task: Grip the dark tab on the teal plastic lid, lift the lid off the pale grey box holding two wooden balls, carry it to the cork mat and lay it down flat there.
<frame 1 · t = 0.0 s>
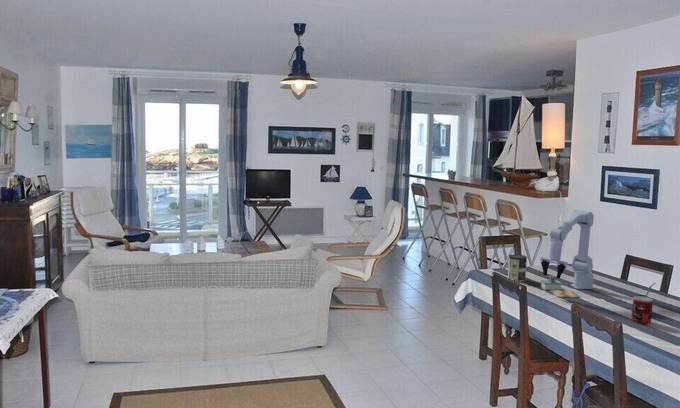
hand: (551, 276, 298), 11 cm above the table, tool pointing down, fingers open, 7 cm apart
canned food: (640, 322, 261), on the table
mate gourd: (641, 312, 275), on the table
coffee can: (516, 279, 334), on the table
box: (551, 288, 315), on the table
lid: (551, 283, 315), point 3 cm above the table, touching box
ball b: (547, 285, 315), point 2 cm above the table, touching box
mat: (564, 294, 303), on the table
ball a: (554, 285, 315), point 2 cm above the table, touching box
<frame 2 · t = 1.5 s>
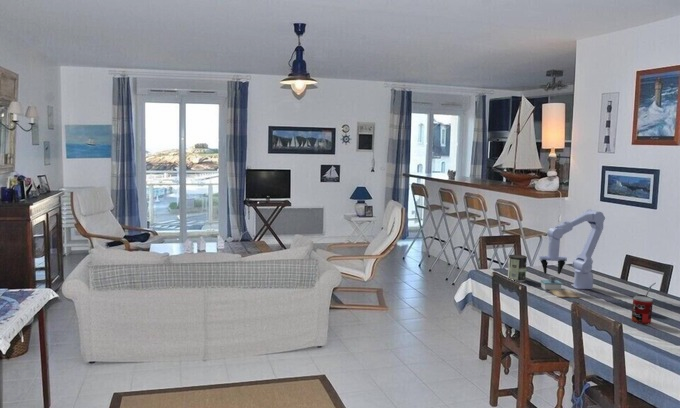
hand: (551, 273, 314), 9 cm above the table, tool pointing down, fingers open, 7 cm apart
nothing on the table moved.
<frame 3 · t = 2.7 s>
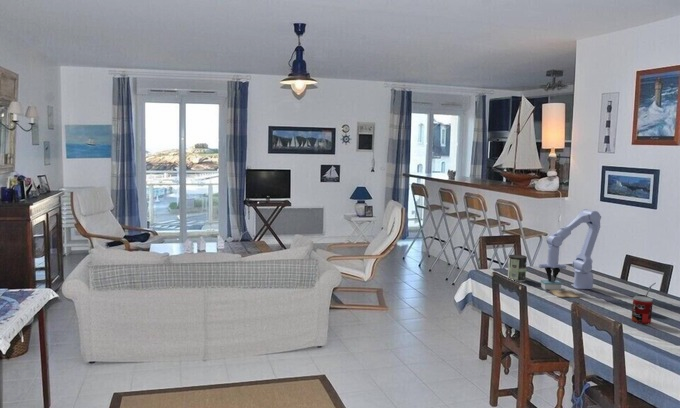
hand: (551, 280, 315), 4 cm above the table, tool pointing down, fingers closed on lid, 2 cm apart
lid: (551, 283, 315), point 3 cm above the table, touching box, gripper
everything else where it was.
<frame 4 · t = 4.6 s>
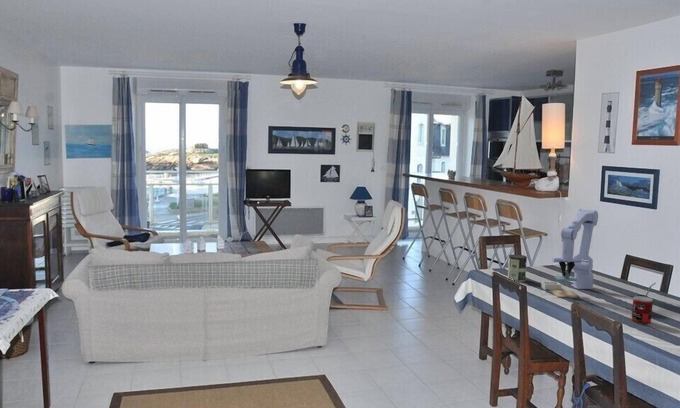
hand: (565, 275, 302), 10 cm above the table, tool pointing down, fingers closed on lid
lid: (565, 279, 303), point 8 cm above the table, touching gripper
everything else where it was.
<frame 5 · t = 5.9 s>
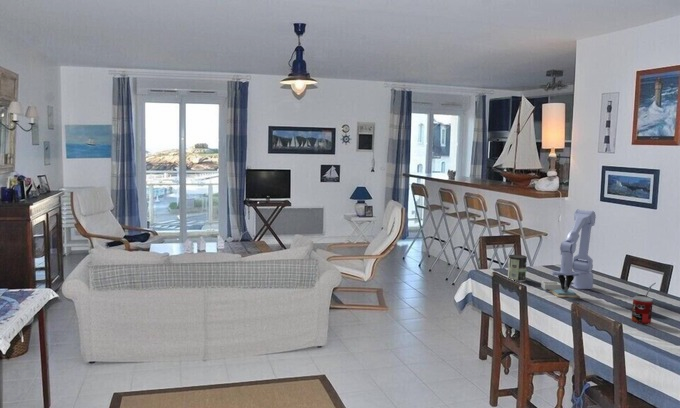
hand: (564, 288, 303), 3 cm above the table, tool pointing down, fingers closed on lid, 2 cm apart
lid: (564, 292, 304), point 1 cm above the table, touching gripper
everything else where it was.
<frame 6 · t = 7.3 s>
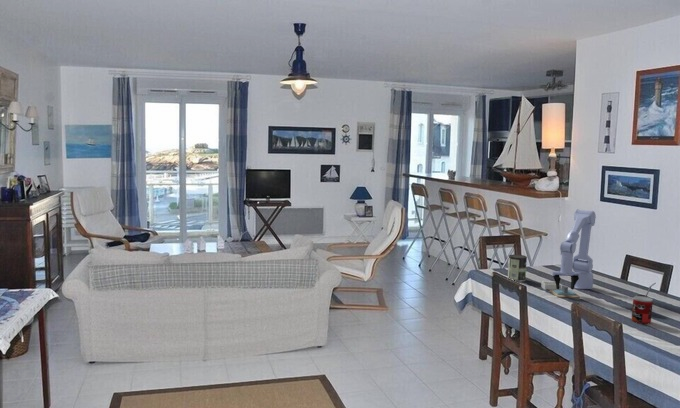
hand: (564, 288, 303), 3 cm above the table, tool pointing down, fingers open, 7 cm apart
lid: (564, 293, 304), point 1 cm above the table, touching mat
everything else where it was.
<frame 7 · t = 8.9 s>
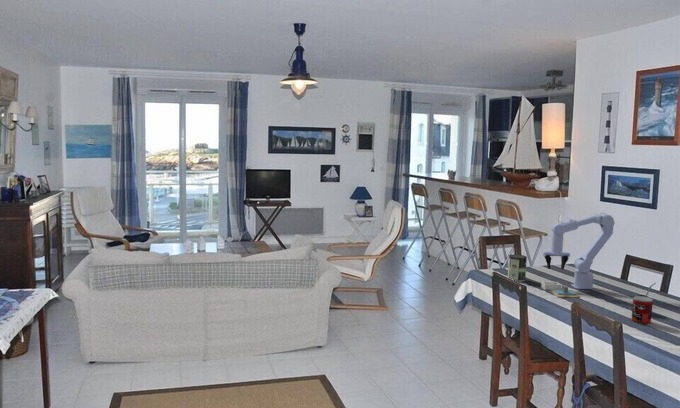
hand: (555, 268, 320), 10 cm above the table, tool pointing down, fingers open, 7 cm apart
nothing on the table moved.
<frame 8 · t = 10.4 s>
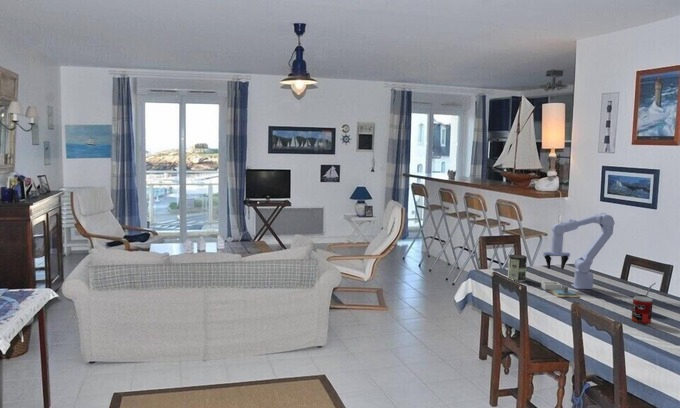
hand: (555, 268, 320), 10 cm above the table, tool pointing down, fingers open, 7 cm apart
nothing on the table moved.
at the end: lid inside the target area on the mat (0.2 cm from its centre), point 0.6 cm above the mat's base; lid tilted 0°; lid touching mat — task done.
